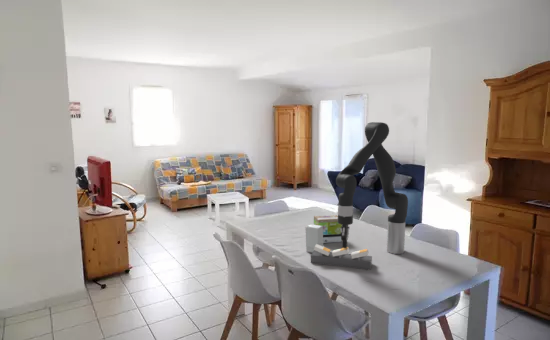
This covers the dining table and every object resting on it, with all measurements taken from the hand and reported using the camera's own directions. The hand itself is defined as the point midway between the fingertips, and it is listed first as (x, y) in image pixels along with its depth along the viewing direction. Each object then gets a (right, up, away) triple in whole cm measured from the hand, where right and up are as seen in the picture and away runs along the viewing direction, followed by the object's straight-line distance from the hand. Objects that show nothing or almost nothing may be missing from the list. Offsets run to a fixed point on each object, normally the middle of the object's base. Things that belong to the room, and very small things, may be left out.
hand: (344, 247), depth 190 cm
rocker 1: (-11, -3, +4) cm, 12 cm away
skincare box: (-13, -7, +21) cm, 26 cm away
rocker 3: (+7, -3, -2) cm, 8 cm away
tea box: (-3, -4, +41) cm, 41 cm away
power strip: (-1, -9, +4) cm, 10 cm away
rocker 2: (-2, -2, +1) cm, 3 cm away
